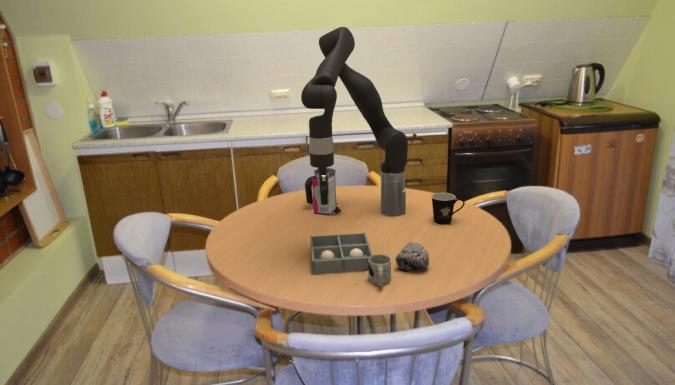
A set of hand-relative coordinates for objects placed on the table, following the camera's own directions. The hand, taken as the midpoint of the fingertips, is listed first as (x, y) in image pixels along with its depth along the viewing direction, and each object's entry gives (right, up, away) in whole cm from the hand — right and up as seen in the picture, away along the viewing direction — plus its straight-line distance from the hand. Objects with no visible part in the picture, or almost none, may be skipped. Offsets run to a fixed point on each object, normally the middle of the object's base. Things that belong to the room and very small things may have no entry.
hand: (323, 200), depth 165 cm
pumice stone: (+27, -21, -5) cm, 35 cm away
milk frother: (+1, -4, +45) cm, 45 cm away
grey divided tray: (+6, -19, +2) cm, 20 cm away
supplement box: (0, -4, +1) cm, 4 cm away
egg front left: (+10, -19, -2) cm, 22 cm away
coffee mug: (+45, -9, +28) cm, 54 cm away
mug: (+17, -24, -13) cm, 32 cm away
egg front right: (+1, -20, -3) cm, 20 cm away
